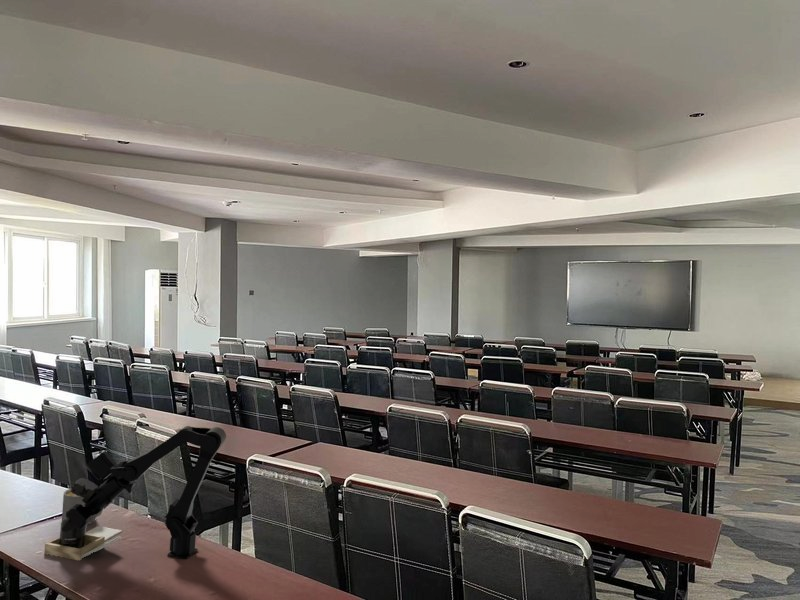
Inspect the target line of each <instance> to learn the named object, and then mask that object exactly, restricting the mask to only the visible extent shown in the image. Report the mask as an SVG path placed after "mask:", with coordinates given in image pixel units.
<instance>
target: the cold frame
mask: <svg viewBox="0 0 800 600" xmlns="http://www.w3.org/2000/svg"><path fill="white" fill-rule="evenodd" d="M59 540H60V536H58V537H55V538H53V539H52V540H49V541H48V542H45V543H44V553H45V554H44V553H43V554H44V555H48V554H50V555H49V556H53V555H55V556H54V557H58V556H60V557H59V558H63V557H65V558H64V559H68V558H69V560H73V559H74V561H78V560H79V561H81V560H83V559H85V558H86V556H85V558H84V557H83V559H82V558H81V556H82V555H84V554H85V553H87V552H89V551H91V550H93V549H94V548H96V547H98V546H100V545H102V544H104V543H105V542H106V541H105V537H103V536H98V535H92V534H87V533H86V537H85V546H84V547H82V548H80V549H78V548H73V547H68V546H63V545H59ZM86 544H87V545H86ZM88 556H91V554H89V555H87V557H88Z"/></svg>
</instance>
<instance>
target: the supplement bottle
mask: <svg viewBox="0 0 800 600" xmlns="http://www.w3.org/2000/svg"><path fill="white" fill-rule="evenodd" d="M70 509H71V508H69V509H67V510H66V512H67V511H69V510H70ZM65 517H66V518H65V519H64V520H63V521H62V520H61V522H60V530H59V531H60V532H59V537H60V540H59V545H63V546H68V547H73V548H78V549H80V548H82V547H84V546H86V544H85V537H86V532H87V527H88V525H87V524H86V525H84V526H83V527H82V528H75V529H72V530H69V531H65V532H63V531H62V530H61V529H62V528H63V526H64V525H65V524H66V522H67V521H68V519H69V517H68V516H67V515H65Z"/></svg>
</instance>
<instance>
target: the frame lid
mask: <svg viewBox="0 0 800 600" xmlns="http://www.w3.org/2000/svg"><path fill="white" fill-rule="evenodd" d="M121 538H123V536H122V535H119V536H117V537H115V538H112V539H111V540H107V541H105V542H104V544H102V545H100V546H98V547H96V548H94V549H93V550H91V551H89V552H87V553H85V554H84V555H82V556H81V558H83V557H85V556H87V555H88V556H90V555H92V554H94V553H95V552H98V551H100V550H102V549H104V548H105V547H107V546H109V545H111V544H113V543H114V542H116V541H118V540H120V539H121ZM93 552H94V553H93ZM91 553H92V554H91ZM89 554H90V555H89ZM88 556H87V557H88ZM85 558H86V557H85ZM83 559H84V558H83Z"/></svg>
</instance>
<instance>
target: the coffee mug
mask: <svg viewBox="0 0 800 600" xmlns="http://www.w3.org/2000/svg"><path fill="white" fill-rule="evenodd" d="M82 499H84V497H81V496H77V495H75V494H73V493H72V492H71V488H68V489H66V490H65V491H63V498H62V510H61V513H62V514H61V522H62V521H63V520H64V519H65V518H66V517H65V515H66V510H67V509H69V508H72V507H74V506H75V505H76V504H81V505H82V506H83V507H84V504H85V503H84V502H83V501H82ZM102 512H103V510H102V511H101V512H100V513H97V514H95V515H93V516H91V520H90V521H89V522H88V523H87V526H88V524H89V525H91V524H93V523H94V522H95V521H96V520H95V519H96V518H97V517H100V516H101V514H102ZM92 522H93V523H92Z"/></svg>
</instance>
